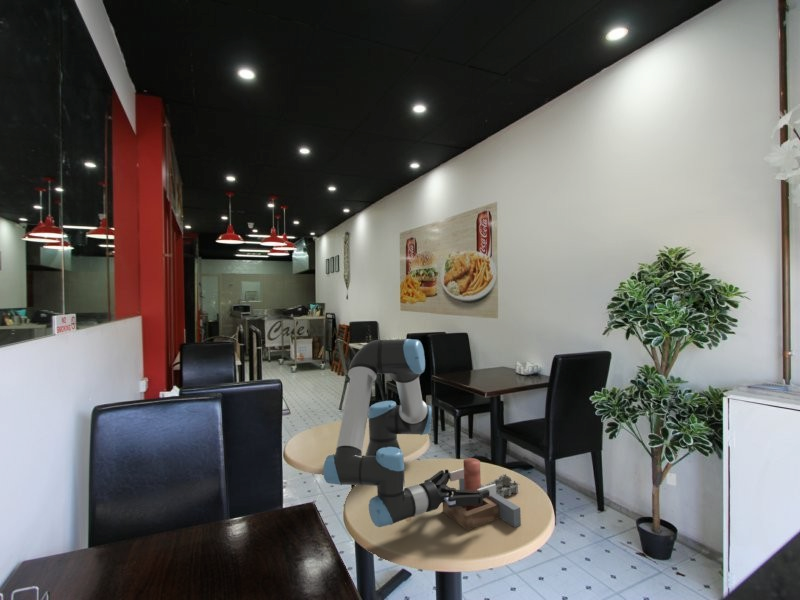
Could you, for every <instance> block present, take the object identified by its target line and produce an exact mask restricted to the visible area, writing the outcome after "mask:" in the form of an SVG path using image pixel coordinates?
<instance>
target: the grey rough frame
mask: <svg viewBox="0 0 800 600" xmlns="http://www.w3.org/2000/svg"><path fill="white" fill-rule="evenodd" d="M492 484H496V493H497V494H498V495H500V496H502V497H503V498H505V496H507V495H508V496H507V497H511V496H512V494H513V493H512V492H515V494H518V493H519V485H521V484H520V483H519V482H516V481H515V480H513V481H512V478H511V477H510V476H508V475H507V473H505V474H501V475H500V476H498V478H496V479H495V480H493V481H491V482H488V483H487V484H485V487H486V486H489V485H492ZM502 485H503V486H506V485H508V486H509V487H503V486H502ZM504 495H505V496H504ZM510 495H511V496H510Z"/></svg>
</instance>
